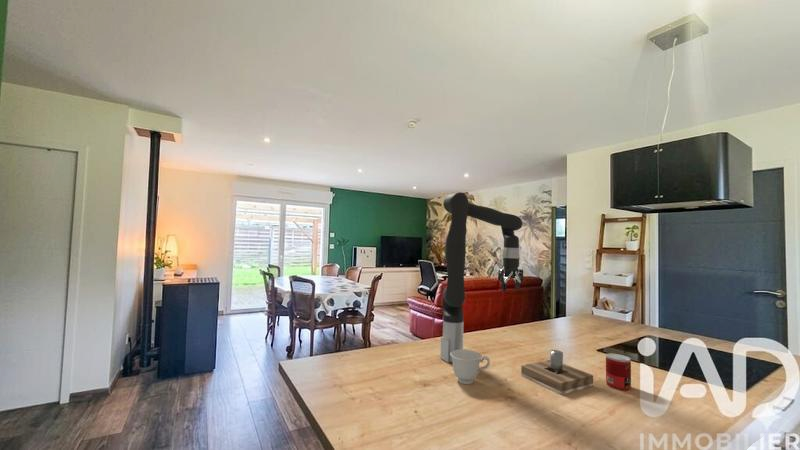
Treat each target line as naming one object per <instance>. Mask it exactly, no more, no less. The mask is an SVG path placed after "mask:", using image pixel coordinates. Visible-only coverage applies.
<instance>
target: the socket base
mask: <svg viewBox="0 0 800 450" xmlns="http://www.w3.org/2000/svg"><path fill="white" fill-rule="evenodd" d="M520 369H521V371H520V372H521V374H520V376H521V377H523V378H525V379H528V380H529V381H531V382H533V383H536V384H538V385H540V386H542V387H544V388H546V389H548V390H550V391H552V392H554V393H557V394H558V395H561V396H562V395H565V394H568V393H573V392H577V391H581V390H583V389H587V388H591V387H593V386H594V375H593V374H591V373H589V372H586V371H583V370H580V369H578V368H575V367H573V366H571V365H568V364H566V363H563V368H562V374H555V373H553V372H551V371H550V359H548V360H543V361H538V362H532V363H527V364H522V365H521V368H520Z"/></svg>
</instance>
